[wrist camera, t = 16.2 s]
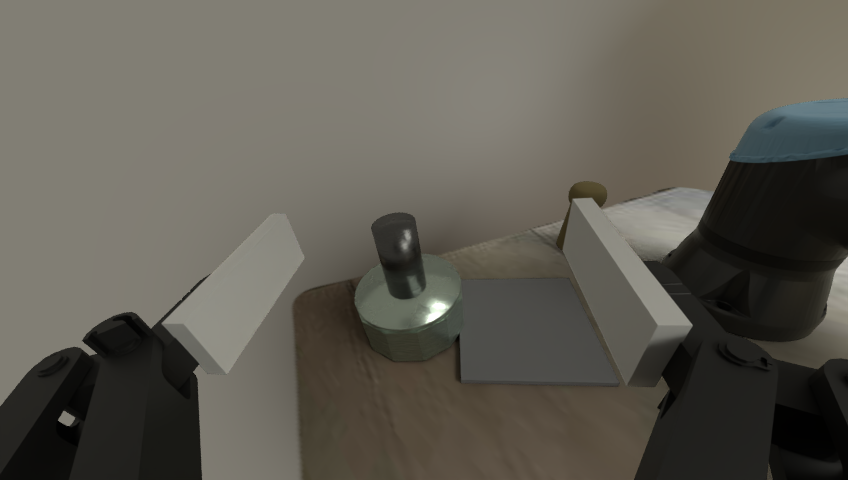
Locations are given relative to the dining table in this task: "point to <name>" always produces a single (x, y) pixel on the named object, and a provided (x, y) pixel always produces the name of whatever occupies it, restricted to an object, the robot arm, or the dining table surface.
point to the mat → (529, 335)
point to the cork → (582, 191)
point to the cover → (408, 295)
